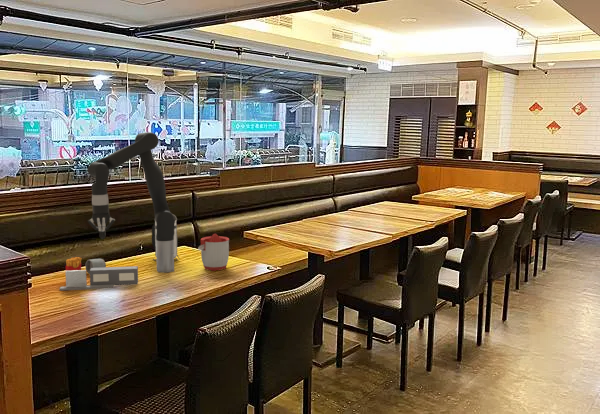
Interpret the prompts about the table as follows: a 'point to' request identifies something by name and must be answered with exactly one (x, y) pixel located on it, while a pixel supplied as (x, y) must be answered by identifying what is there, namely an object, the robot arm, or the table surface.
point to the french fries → (73, 264)
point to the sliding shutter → (76, 278)
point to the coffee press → (154, 230)
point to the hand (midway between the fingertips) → (102, 238)
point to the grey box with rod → (109, 278)
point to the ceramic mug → (95, 264)
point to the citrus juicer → (214, 252)
